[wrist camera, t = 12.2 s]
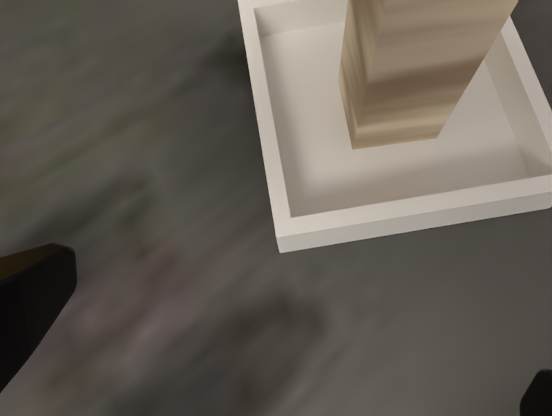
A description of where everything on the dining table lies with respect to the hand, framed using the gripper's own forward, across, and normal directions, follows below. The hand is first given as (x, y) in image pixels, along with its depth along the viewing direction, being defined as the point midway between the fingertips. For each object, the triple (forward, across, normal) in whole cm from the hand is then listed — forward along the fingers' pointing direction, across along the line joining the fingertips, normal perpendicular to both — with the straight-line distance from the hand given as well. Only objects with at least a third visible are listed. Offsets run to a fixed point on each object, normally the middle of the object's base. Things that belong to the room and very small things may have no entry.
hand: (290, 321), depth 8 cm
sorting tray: (+19, -2, 0) cm, 19 cm away
